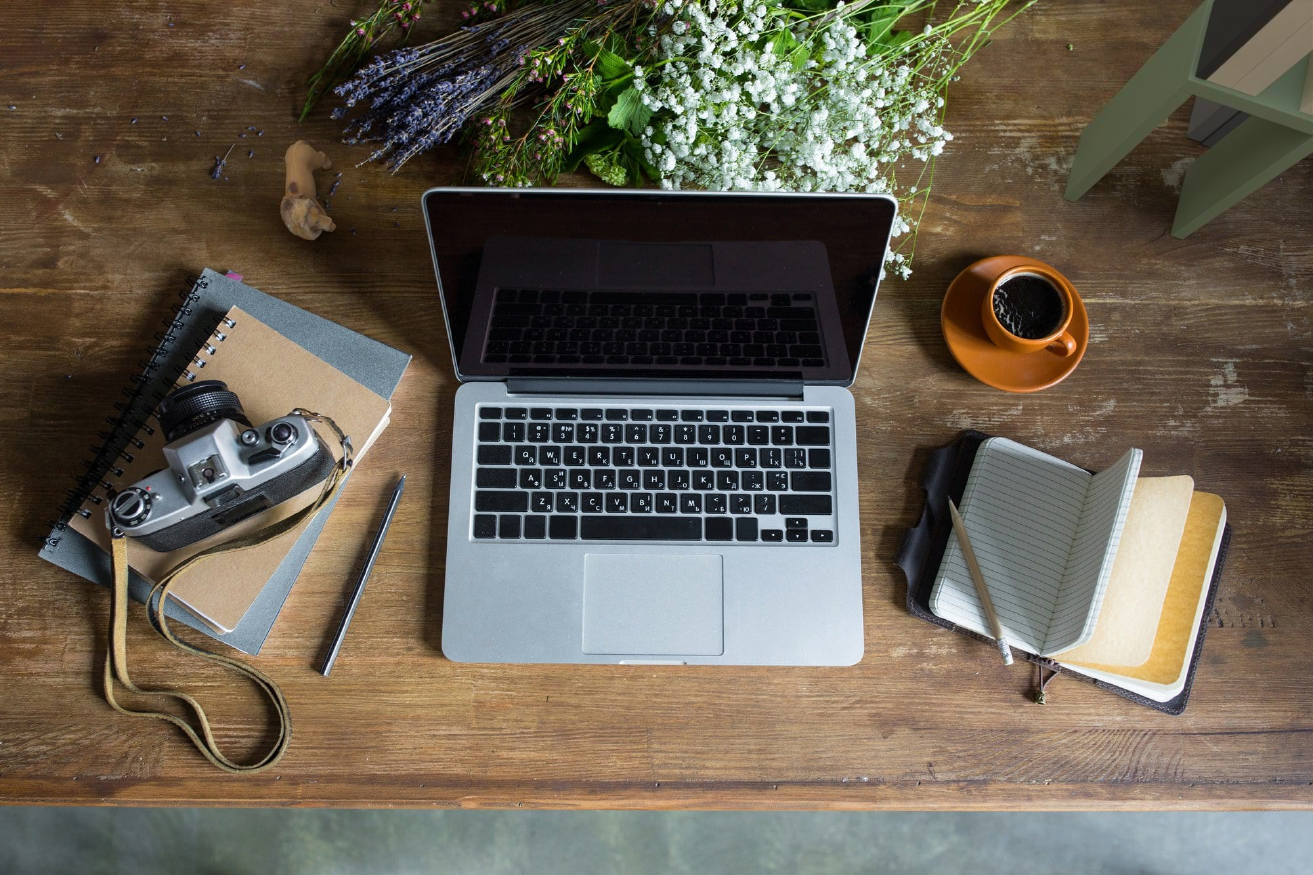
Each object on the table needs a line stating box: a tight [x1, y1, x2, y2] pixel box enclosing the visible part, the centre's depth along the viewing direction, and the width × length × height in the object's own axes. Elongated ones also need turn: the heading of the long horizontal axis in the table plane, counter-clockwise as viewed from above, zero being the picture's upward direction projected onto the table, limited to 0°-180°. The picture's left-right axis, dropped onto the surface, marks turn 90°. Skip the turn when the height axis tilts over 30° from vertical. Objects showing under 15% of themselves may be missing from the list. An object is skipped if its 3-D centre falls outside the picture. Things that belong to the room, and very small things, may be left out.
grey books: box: [1185, 95, 1252, 149], centre depth 93 cm, size 4×9×12 cm, turn 160°
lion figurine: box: [279, 139, 337, 241], centre depth 88 cm, size 15×5×9 cm, turn 16°
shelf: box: [1062, 0, 1313, 241], centre depth 86 cm, size 15×10×22 cm, turn 70°
